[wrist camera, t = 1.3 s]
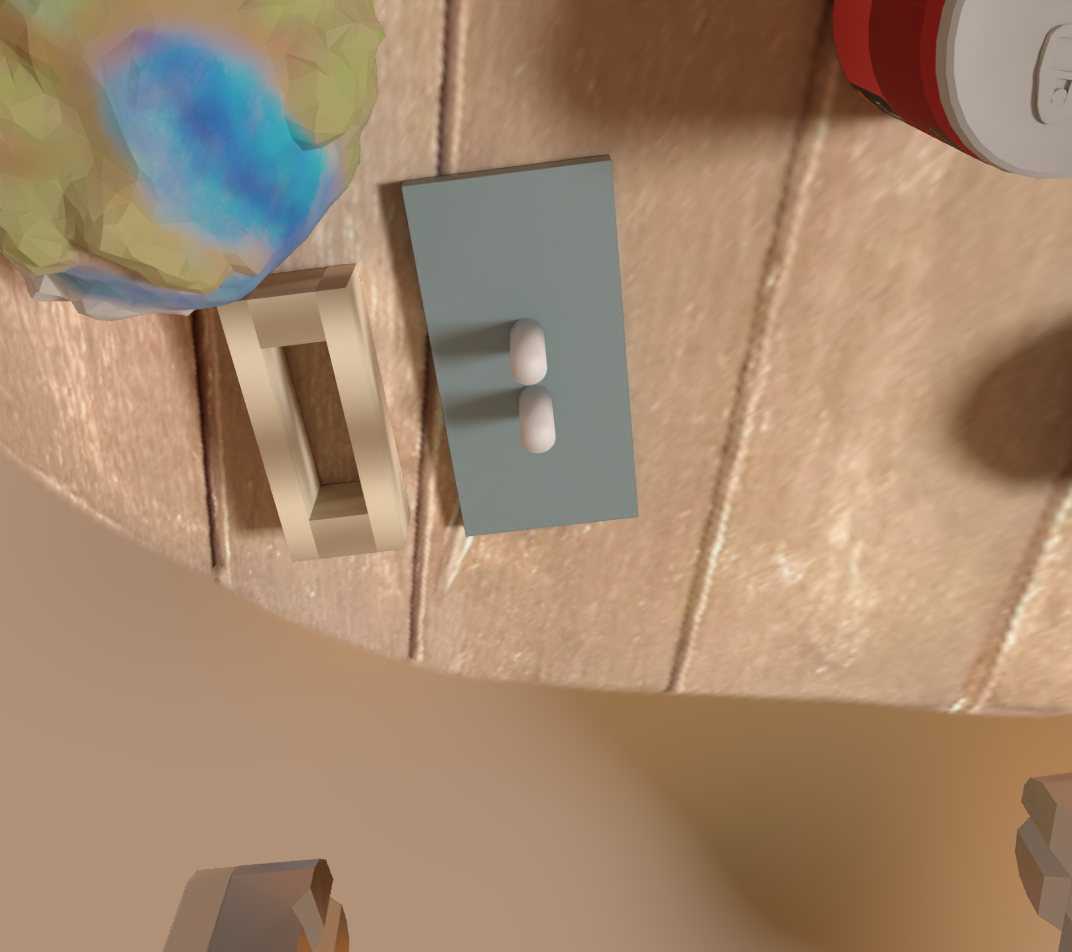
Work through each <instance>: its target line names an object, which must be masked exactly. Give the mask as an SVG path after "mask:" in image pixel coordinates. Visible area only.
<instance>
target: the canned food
mask: <svg viewBox="0 0 1072 952" xmlns="http://www.w3.org/2000/svg"><path fill="white" fill-rule="evenodd" d="M833 36H834V41H835V46H836V51H837V55H838V59H839V62H840V64H841V66H842V69H843V71H844V73H845V75H846V78H847V79H848V81H849V82H850V83H851V85H852V86H853V87H854V89H855V90H856V91H857V93H858V94H859V95H860V96H861V97H863V98H864V99H865V100H866V101H867V102H868V103H870V104H871V105H872V106H873V107H875V108H877V109H879V110H881V111H883V112H885V113H887V114H889V115H891V116H893V117H895V118H897V119H899V120H901V121H903V122H905V123H907V124H909V125H911V126H913V127H915V128H917V129H919V130H920V131H922V132H924V133H926V134H928V135H930V136H932V137H934V138H936V139H938V140H940V141H942V142H944V143H946V144H948V145H950V146H952V147H954V148H956V149H958V150H960V151H962V152H964V153H966V154H968V155H970V156H972V157H974V158H976V159H978V160H980V161H982V162H984V163H986V164H989V165H992V166H994V167H996V168H998V169H1000V170H1002V171H1005V172H1009V173H1014V174H1018V175H1023V176H1028V177H1033V178H1037V179H1049V178H1068V177H1072V0H834V6H833Z"/></svg>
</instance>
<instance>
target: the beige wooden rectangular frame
mask: <svg viewBox="0 0 1072 952" xmlns="http://www.w3.org/2000/svg"><path fill="white" fill-rule="evenodd" d="M217 309H218V313H219V316H220V320H221V323H222V326H223V330H224V333H225V336H226V340H227V343H228V346H229V350H230V353H231V357H232V360H233V363H234V367H235V370H236V373H237V377H238V380H239V383H240V387H241V390H242V393H243V397H244V400H245V404H246V407H247V410H248V414H249V417H250V420H251V424H252V427H253V430H254V434H255V437H256V441H257V444H258V447H259V451H260V454H261V457H262V461H263V464H264V467H265V471H266V474H267V477H268V481H269V484H270V488H271V491H272V494H273V498H274V501H275V504H276V508H277V511H278V514H279V518H280V521H281V525H282V528H283V531H284V535H285V538H286V541H287V545H288V548H289V551H290V555H291V558H292V562H296V561H305V560H313V559H322V558H331V557H340V556H349V555H358V554H366V553H375V552H384V551H393V550H402V549H405V543H406V537H407V531H408V525H409V518H410V509H409V504H408V500H407V495H406V490H405V486H404V481H403V476H402V472H401V467H400V463H399V458H398V453H397V449H396V444H395V439H394V435H393V430H392V426H391V421H390V416H389V412H388V407H387V402H386V398H385V393H384V389H383V384H382V379H381V375H380V370H379V365H378V361H377V356H376V352H375V347H374V342H373V338H372V333H371V328H370V324H369V319H368V314H367V310H366V305H365V301H364V296H363V291H362V287H361V282H360V277H359V273H358V268H357V264H350V265H341V266H333V267H325V268H317V269H309V270H301V271H293V272H285V273H277V274H269V275H267V276H266V277H265V278H264V279H263V280H262V281H261V282H260V283H259V284H258V285H257V287H256V288H255V289H254V290H252V291H251V292H250V293H248V294H247V295H246V296H244V297H243V298H241V299H240V300H238V301H236V302H232V303H229V304H226V305H223V306H219V307H217ZM322 341H327V345H328V350H329V354H330V358H331V362H332V366H333V370H334V374H335V379H336V383H337V387H338V391H339V395H340V399H341V403H342V407H343V412H344V416H345V420H346V424H347V428H348V432H349V436H350V440H351V445H352V449H353V453H354V457H355V461H356V465H357V469H358V474H359V478H360V481H356V482H348V483H339V484H330V485H322V486H320V482H319V478H318V475H317V471H316V467H315V463H314V460H313V456H312V452H311V448H310V445H309V441H308V437H307V433H306V430H305V426H304V422H303V418H302V415H301V411H300V407H299V404H298V400H297V396H296V392H295V389H294V385H293V381H292V377H291V374H290V370H289V366H288V362H287V359H286V355H285V351H284V347H283V346H289V345H297V344H305V343H314V342H322Z"/></svg>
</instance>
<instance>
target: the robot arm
mask: <svg viewBox="0 0 1072 952" xmlns="http://www.w3.org/2000/svg"><path fill="white" fill-rule="evenodd" d="M1021 802H1022V804H1023V805H1024V807H1025V809H1026V810H1027V812H1028V814H1029V815H1030V817H1029V818H1028V819H1027V820H1026V822H1024V824H1022V825H1021V826H1020V827H1019V829H1018V830H1017V836H1016V847H1015V854H1016V859H1017V865H1018V870H1019V876H1020V878H1021V881H1022V883H1023V886H1024V889H1025V891H1026V894H1027V896H1028V898H1029V900H1030V901H1031V903H1032V905H1033V907H1034V909H1035V911H1036V912H1037V914H1038V915H1039V916H1040V917H1041V918H1043V919H1044V920H1046V921H1047V922H1049V923H1050V924H1052V925H1053V926H1055V927H1056V928H1058V929H1059V930H1061V931H1062V933H1061V940H1060V945H1059V950H1058V951H1059V952H1072V772H1070V773H1062V774H1054V775H1046V776H1038V777H1031V778H1030V779H1029V780H1028V781H1027V782H1026V784H1025V785H1024V789H1023V795H1022V801H1021ZM332 883H333V877H332V874H331V872H330V869H329V866H328V864H327V861H326V860H324V859H312V860H301V861H290V862H277V863H266V864H254V865H242V866H237V867H226V868H215V869H205V870H197V871H196V872H195V873H194V875H193V876H192V877H191V878H190V880H189V881H188V883H187V884H186V887H185V890H184V893H183V895H182V898H181V901H180V904H179V907H178V909H177V912H176V915H175V918H174V921H173V923H172V926H171V929H170V932H169V935H168V938H167V940H166V943H165V946H164V949H163V952H349V933H348V927H347V920H346V917H345V913H344V910H343V907H342V905H341V904H340V903H338V902H337V901H335V900H334V899H333V898H331V897H330V894H331V889H332Z"/></svg>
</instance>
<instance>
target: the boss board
mask: <svg viewBox="0 0 1072 952" xmlns="http://www.w3.org/2000/svg"><path fill="white" fill-rule="evenodd" d="M401 188H402V193H403V198H404V204H405V209H406V215H407V220H408V225H409V231H410V236H411V242H412V247H413V253H414V258H415V263H416V269H417V274H418V280H419V285H420V290H421V296H422V301H423V307H424V312H425V318H426V323H427V328H428V334H429V339H430V345H431V350H432V356H433V361H434V366H435V372H436V377H437V383H438V388H439V393H440V399H441V404H442V410H443V415H444V421H445V426H446V431H447V437H448V442H449V448H450V453H451V458H452V464H453V469H454V475H455V480H456V486H457V491H458V496H459V502H460V507H461V513H462V518H463V523H464V529H465V534H466V537H467V536H476V535H484V534H493V533H502V532H511V531H519V530H528V529H537V528H546V527H555V526H563V525H572V524H581V523H590V522H599V521H607V520H616V519H625V518H634V517H638V504H637V491H636V478H635V465H634V452H633V438H632V425H631V412H630V399H629V386H628V372H627V359H626V346H625V333H624V320H623V306H622V293H621V280H620V267H619V254H618V241H617V227H616V214H615V201H614V188H613V175H612V161H611V158H610V156H609V155H603V156H596V157H588V158H580V159H572V160H564V161H556V162H548V163H540V164H533V165H525V166H517V167H509V168H501V169H493V170H485V171H477V172H470V173H462V174H454V175H446V176H438V177H430V178H422V179H414V180H406V181H404V182H403V184H402V187H401Z"/></svg>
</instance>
